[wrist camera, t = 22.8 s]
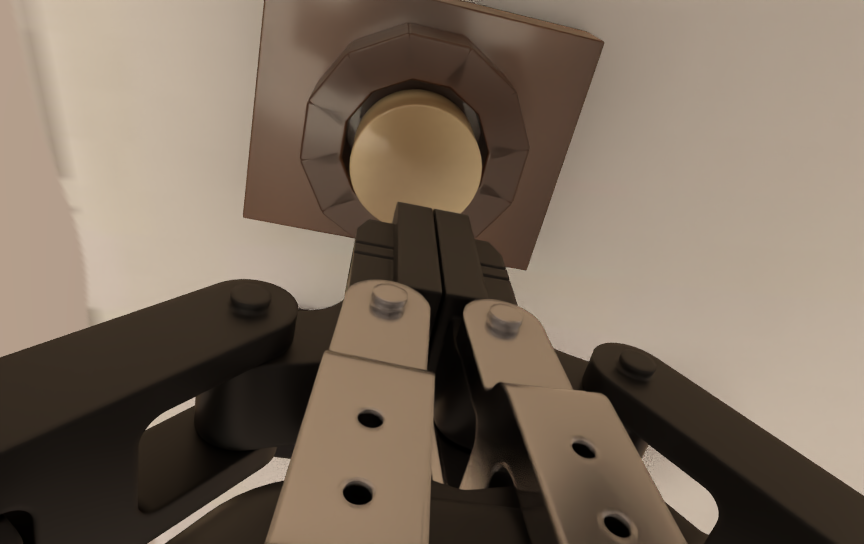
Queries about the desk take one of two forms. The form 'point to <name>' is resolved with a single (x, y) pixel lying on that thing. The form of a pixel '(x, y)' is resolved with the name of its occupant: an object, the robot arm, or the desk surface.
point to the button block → (403, 70)
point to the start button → (414, 155)
